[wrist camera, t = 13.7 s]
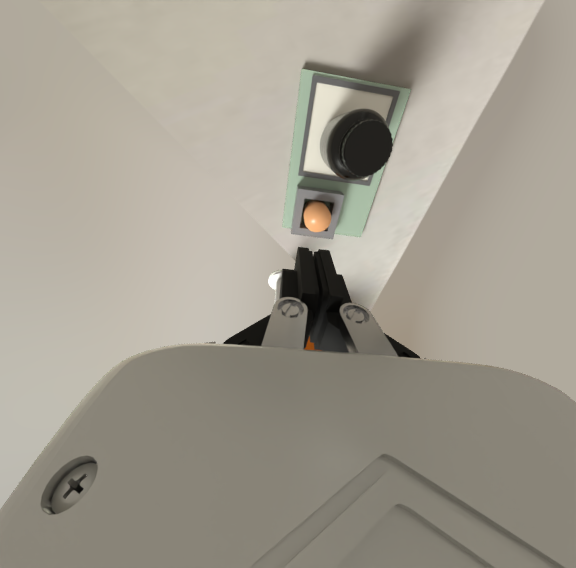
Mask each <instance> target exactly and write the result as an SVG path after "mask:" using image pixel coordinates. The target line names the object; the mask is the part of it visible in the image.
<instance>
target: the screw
mask: <svg viewBox="0 0 576 568" xmlns="http://www.w3.org/2000/svg"><path fill="white" fill-rule="evenodd" d="M281 276H282V270H278V271H275V272H273V273H272V274H271V275H270V277H269V285H270V286H271V288H273V289H274V290H276V292H275V302H276V301H277V300H279V297H280V285H281Z"/></svg>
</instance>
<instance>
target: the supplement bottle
mask: <svg viewBox="0 0 576 568" xmlns="http://www.w3.org/2000/svg"><path fill="white" fill-rule="evenodd" d="M392 141H393V139H392V134H391V133H390V129H389V128H388V125H387V123H386V121H385V120H384V118H383V117H382V116H381V115H380V114H379V113H377V112H376V111H374V110H371V109H356V110H353V111H350V112H347V113H344V114H341V115H339V116H337V117H335V118H334V119H332V120H331V121H330V122H329V123H328V124H327V126H326V127H325V129H324V131H323V133H322V136H321V139H320V153H321V157H322V159H323V161H324V163H325V164H326V165H327V166H328V167H329V168H330V169H331V170H332V171H333V172H334V173H335V174H336V175H337V176H339V177H340V178H342V179H344V180H348V181H358V180H362V179H365V178H367V177H369V176H370V175H373V174H374V173H376V172H377V171H378V170H380V169H381V168H382V167H383V166H384V165H385V163H386V162H387V161H388V158H389V157H390V153H391V151H392V146H393V143H392Z"/></svg>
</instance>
